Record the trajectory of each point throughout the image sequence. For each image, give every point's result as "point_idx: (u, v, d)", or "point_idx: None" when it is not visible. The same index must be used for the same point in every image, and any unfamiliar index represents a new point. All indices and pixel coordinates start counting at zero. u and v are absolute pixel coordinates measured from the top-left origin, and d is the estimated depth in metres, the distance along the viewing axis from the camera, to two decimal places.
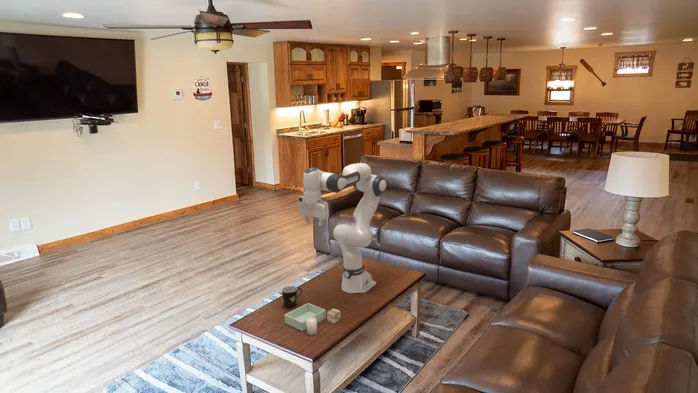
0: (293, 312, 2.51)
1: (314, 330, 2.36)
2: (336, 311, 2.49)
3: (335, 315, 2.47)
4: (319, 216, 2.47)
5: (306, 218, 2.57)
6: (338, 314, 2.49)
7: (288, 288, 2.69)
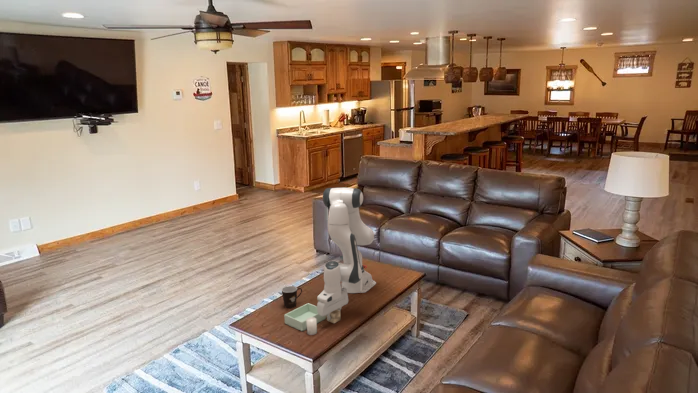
0: (293, 312, 2.51)
1: (314, 330, 2.36)
2: (336, 311, 2.49)
3: (335, 315, 2.47)
4: (344, 303, 2.52)
5: None
6: (338, 314, 2.48)
7: (288, 288, 2.69)
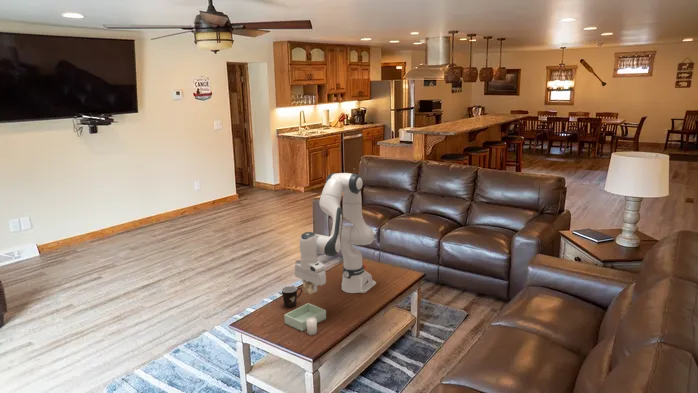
0: (293, 312, 2.51)
1: (314, 330, 2.36)
2: None
3: None
4: None
5: None
6: None
7: (288, 288, 2.69)
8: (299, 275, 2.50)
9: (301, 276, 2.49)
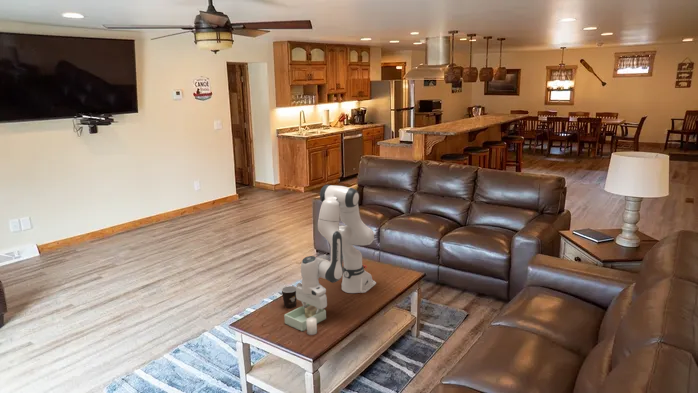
0: (293, 312, 2.51)
1: (314, 330, 2.36)
2: (311, 306, 2.54)
3: None
4: None
5: None
6: None
7: (288, 288, 2.69)
8: (301, 298, 2.53)
9: (302, 299, 2.53)
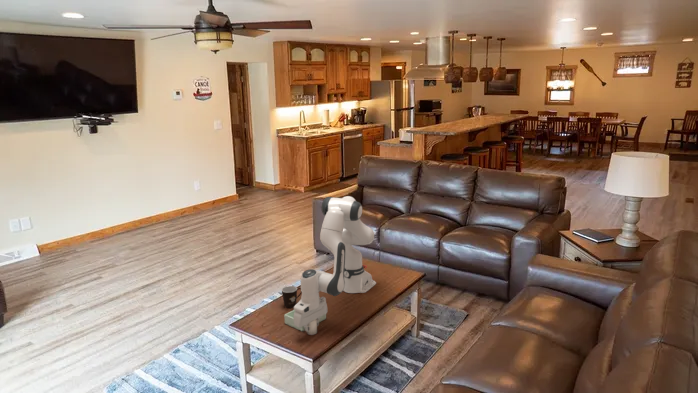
0: (293, 312, 2.51)
1: (314, 330, 2.36)
2: None
3: None
4: (322, 313, 2.40)
5: (306, 326, 2.35)
6: None
7: (288, 288, 2.69)
8: None
9: None
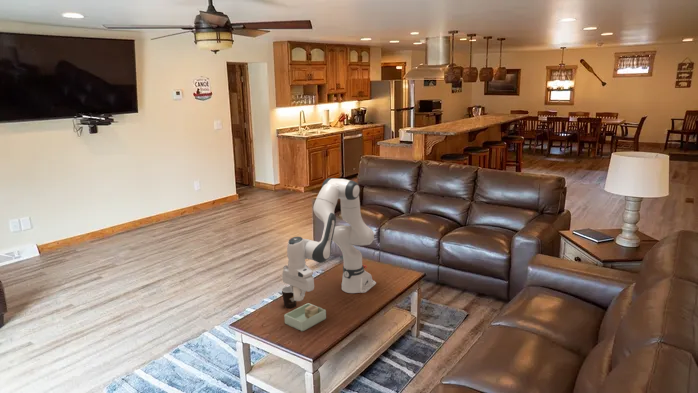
0: (293, 312, 2.51)
1: None
2: (311, 306, 2.54)
3: None
4: None
5: None
6: None
7: (288, 288, 2.69)
8: (287, 281, 2.44)
9: (289, 282, 2.43)
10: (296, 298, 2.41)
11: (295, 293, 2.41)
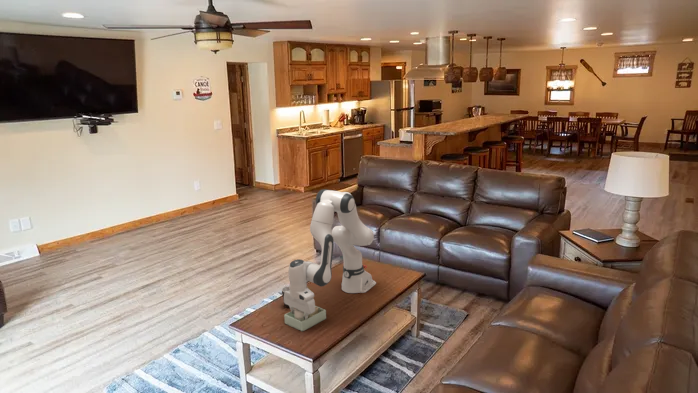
0: None
1: None
2: None
3: None
4: None
5: None
6: None
7: None
8: (289, 303, 2.47)
9: (290, 304, 2.46)
10: None
11: (296, 317, 2.44)
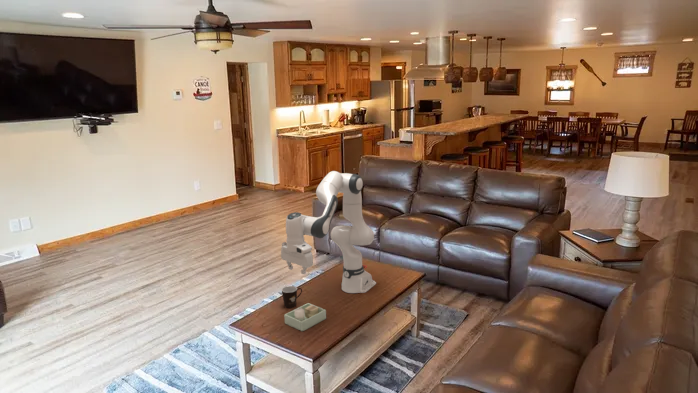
0: (293, 312, 2.51)
1: None
2: (311, 306, 2.54)
3: None
4: None
5: None
6: None
7: (288, 288, 2.69)
8: (286, 258, 2.41)
9: (287, 258, 2.40)
10: None
11: (296, 317, 2.44)
